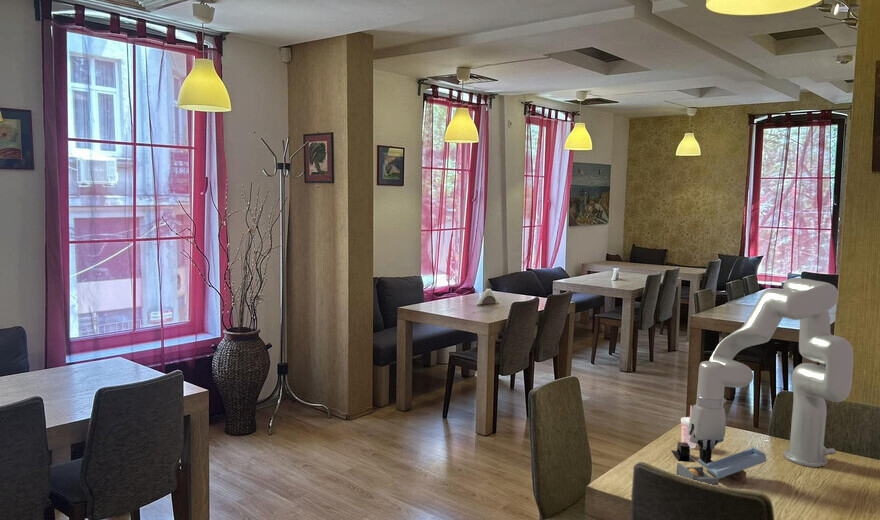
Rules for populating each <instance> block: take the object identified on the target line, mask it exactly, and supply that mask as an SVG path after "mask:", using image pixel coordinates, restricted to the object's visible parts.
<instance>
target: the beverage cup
mask: <svg viewBox="0 0 880 520" xmlns="http://www.w3.org/2000/svg"><path fill="white" fill-rule="evenodd" d="M692 408H693V405H690V410H689V416H687V417H686V416H684V417H681V418H680V423H681V438H680V439H681V441H680V442H686V443H688V445H689V446H690V449H695V448H696V446H697V444H696V443H692V442H691V441H690V437H691V435H689V434H688V428H689V421H690V416H691V412H692Z"/></svg>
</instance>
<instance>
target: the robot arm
mask: <svg viewBox="0 0 880 520" xmlns="http://www.w3.org/2000/svg"><path fill="white" fill-rule="evenodd" d="M839 298H840V295H839V291H838V289H837V287H836V286H835V285H834V284H831V283H830V282H825V281H820V280H814V279H808V278H803V277H802V278H801V277H792V278H788V279H787V280H786V281H784V282H783V285H782V288H774V287H773V288H767V289H765V290H764V291H763V292H762V294H761V295H760V296H759V299H758V300H757V301H756V303H755V305H754V307H753V308H752V310H751V311H750V313H749V316H748V317H747V319H746V320H745V322H744V324H742V326H741V327H740V328H738V329H736V330H735V331H733V332H731V333H730V334H729V335H727V336H726V337H725V338H723V339H722V340H721V341H720V342H718V344H717V346H716V347H715V349H714V350H713V351H712V354H711V356H710V358H709V360H705V361H701V362H700V363H699V366H698V376H697V377H698V379H697V389H696V390H697V391H696V401H695V402H696V403H695V404H693V405H692V412H691V416H690V415H689V417H690V421H689V428H688V434H689V435H691V437H690V441H691V442H692V443H696V445H697V446H698V447H699V456H698V457H699V459H701V460H702V461H704V462H711V460H712V453H713V450H714V449H715V446H716V445H717V444H719V443H720V444H721V443H722V442H724V438H725V437H726V436H725V435H726V425H727V424H726V411H725V407H724V404H725V403H727V399H726V398H725V397H724V396H725V388H726V387H728V388H735V389H736V388H739V389H742V388H745V387H746V388H747V386H749V385H750V384H751V383H752V381H753V379H754V372H753V371H752V369H751V368H750V367H749V366H748V365H747V364H744V363H742V362H739V361H736V360H734V358H735V356H736V355H737V354H738V353H740V352H741V351H742V350H745V349H746V348H749V347H753V346H757V345H762V344H766V343H768V342H769V341H770V340H771V339H772V337H773V335H774V334H775V331H776V329H777V328H778V326H779V325H780V324H781V321H782V320H783V319H788V320H793V321H799V333H798V334H799V335H798V337H799V338H798V352H799V354H800V355H801V356H802V357H803V358H805V359H807V360H810V361H813V362H817V363H820V364H823V365H825V366H823V365H818V364H815V363H812V362H811V363H810V362H803V363H800V364H798V365H797V366H796V367H794V369H793V371H792V374H791V384H792V391H793V394H792V395H793V399H792V400H793V403H792V412H791V413H792V414H791V415H792V416H791V424H790V425H791V426H790V427H791V428H790V439H789V449H785V450H784V451H783V457H784V458H785V459H787V461H790V462H792V463H794V464H797V465H799V466H806V467H810V468H811V467H813V468H821V467H820V466H823V467H825V466H824V465H826V464H827V465H828V463H829V462H828V458H827V457H826V456H828V455H829V456H830V455H835V454H836V453H837V452H836V449H835V448H826V446H824V443H825V435H826V433H825V431H826V422H827V420H826V419H827V414H828V413H827V410H828V409H827V403H826V400H827V401H830V402H833V403H834V402H835V403H842V402H844V401H845V400H846V399H847V398H848V397H849V396H850V394H851V391H852V385H853V374H854V372H853V371H854V370H853V369H854V349H853V347H852V344H851V342H849V340H847V339H846V338H844V337H842V336H838V335H834V334H832V333H831V314H830V312H829V311H830V310H831V309H833V308H834V307H835V306H836V305H837V303H838V301H839ZM827 465H826V466H827Z"/></svg>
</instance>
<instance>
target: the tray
mask: <svg viewBox="0 0 880 520" xmlns="http://www.w3.org/2000/svg"><path fill="white" fill-rule="evenodd" d="M676 464H677V465H676V475H680V476H683V477H686V478H690V479H693V480H697V481H700V482H705V483H708V484H712V485H718V486H719V482H720V478H718V477H716V476H715V477H712V476H710V475H708V474H707V473H706V472H704V466H687V467H686V466H684V465H683V464H681V463H679V462H678V463H677V462H676ZM689 469H695V470H696V471H697V472H698V477H697V478H695V476H696V475H695V474H694V473H693V472H691V471H690V470H689Z"/></svg>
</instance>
